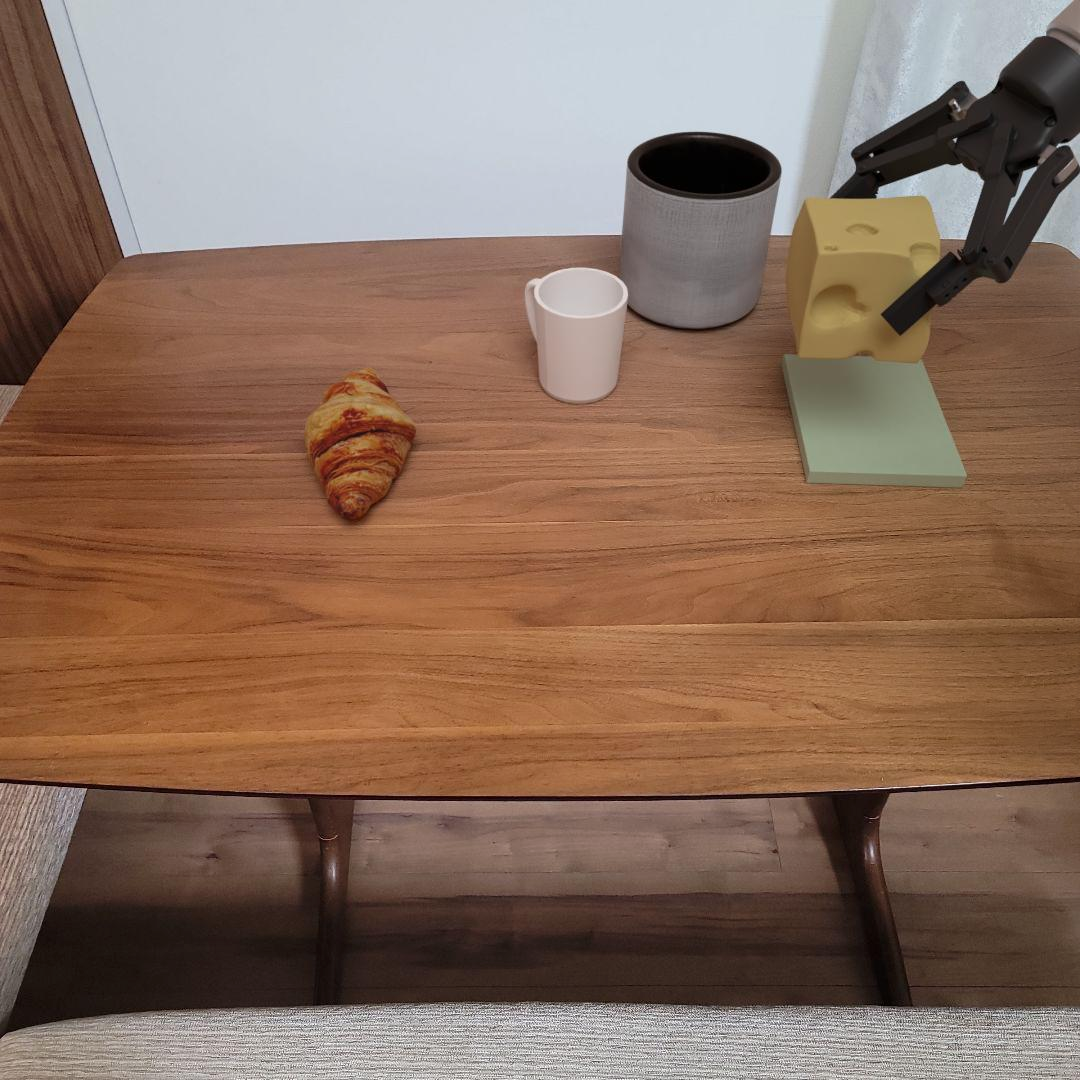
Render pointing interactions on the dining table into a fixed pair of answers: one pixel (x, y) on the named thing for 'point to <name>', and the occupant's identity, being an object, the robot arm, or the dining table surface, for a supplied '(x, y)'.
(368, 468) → the croissant
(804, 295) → the cheese
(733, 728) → the dining table surface
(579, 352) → the mug
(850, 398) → the board
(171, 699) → the dining table surface
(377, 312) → the dining table surface
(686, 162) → the planter
